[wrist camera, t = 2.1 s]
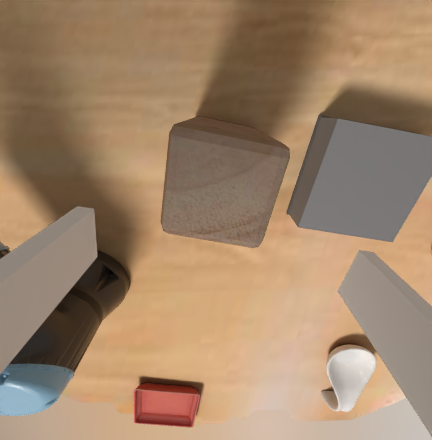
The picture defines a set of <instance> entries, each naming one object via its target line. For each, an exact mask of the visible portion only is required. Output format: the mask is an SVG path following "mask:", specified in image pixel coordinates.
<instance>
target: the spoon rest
mask: <svg viewBox="0 0 432 440" xmlns="http://www.w3.org/2000/svg"><path fill="white" fill-rule="evenodd" d="M375 368H376V358H375V356H374V354H373V353H372V352H370V351H369V350H368V349H366V348H364V347H361V346H358V345H351V344H347V345H342V346H339V347H337V348H335V349H334V350H332V352H331V353H330V354H329V356H328V358H327V363H326V370H327V375H328V378H329V380H330V382H331V385H332V387H333V389H334V391H322V392H321V395H322V397H323V399H324V400H325V402H326V403H327V405H328V406H329V407H330V408H331V409H332V410H334V411H340V410H341V411H345V412H348V411H350V410H351V409H352V408H353V407H354V405H355V403H356V401H357V399H358V397H359V395H360V394H361V392H362V390H363V388H364V387H365V385H366V384H367V382H368V380H369V379H370V377H371V376H372V374H373V372H374V370H375Z"/></svg>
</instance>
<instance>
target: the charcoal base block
mask: <svg viewBox="0 0 432 440" xmlns="http://www.w3.org/2000/svg"><path fill="white" fill-rule="evenodd" d="M431 176H432V136H427V135H421V134H416V133H411V132H406V131H401V130H396V129H390V128H385V127H380V126H375V125H370V124H364V123H359V122H354V121H349V120H344V119H338V118H331V117H325V116H320V115H319V116H318V119H317V122H316V125H315V128H314V131H313V134H312V137H311V140H310V143H309V146H308V149H307V152H306V155H305V158H304V161H303V164H302V167H301V170H300V173H299V176H298V179H297V182H296V185H295V188H294V191H293V194H292V197H291V200H290V203H289V206H288V210H287V214H289V215H290V216H291V217H292V219H293V220H294V222H295V223H296V225H297V226H298V227H300V228H306V229H312V230H319V231H325V232H331V233H338V234H344V235H350V236H357V237H363V238H369V239H376V240H382V241H388V242H393V241H394V239H395V237H396V236H397V234H398V232H399V230H400V229H401V227H402V225H403V224H404V222H405V220H406V219H407V217H408V215H409V214H410V212H411V210H412V208H413V207H414V205H415V203H416V202H417V200H418V198H419V197H420V195H421V193H422V191H423V190H424V188H425V186H426V185H427V183H428V181H429V180H430V178H431Z"/></svg>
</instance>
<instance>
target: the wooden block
mask: <svg viewBox="0 0 432 440" xmlns="http://www.w3.org/2000/svg"><path fill="white" fill-rule="evenodd" d="M289 159H290V152H289V148H288V147H287V146H285V145H284V144H283V143H281V142H279V141H277V140H276V139H274V138H272V137H270V136H268V135H266V134H264V133H262V132H260V131H258V130H256V129H254V128H252V127H248V126H243V125H239V124H234V123H229V122H224V121H220V120H215V119H210V118H206V117H201V116H199V117H195V118H192V119H189V120H186V121H183V122H180V123H177V124H174V125H173V127H172V129H171V131H170V133H169V142H168V152H167V162H166V172H165V182H164V193H163V203H162V213H161V224H162V228H163V231H165V232H167V233H169V234H174V235H180V236H186V237H191V238H197V239H203V240H209V241H215V242H221V243H226V244H232V245H238V246H244V247H250V248H255V247H259V245H260V244H261V243H262V241H263V238H264V235H265V232H266V229H267V226H268V223H269V220H270V217H271V214H272V211H273V208H274V205H275V201H276V198H277V195H278V192H279V189H280V186H281V183H282V180H283V177H284V174H285V171H286V168H287V165H288V162H289Z"/></svg>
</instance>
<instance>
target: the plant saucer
mask: <svg viewBox="0 0 432 440" xmlns="http://www.w3.org/2000/svg"><path fill="white" fill-rule="evenodd" d="M199 399H200V395H199V393H198V392H197V390H196V389H195V388H194V387H187V386H177V385H166V384H155V383H143V384H141V385H140V386H138V387H137V388H136V389H135V390H134V423H139V424H151V425H164V426H178V427H193V426H194V421H195V417H196V412H197V408H198V403H199Z"/></svg>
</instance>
